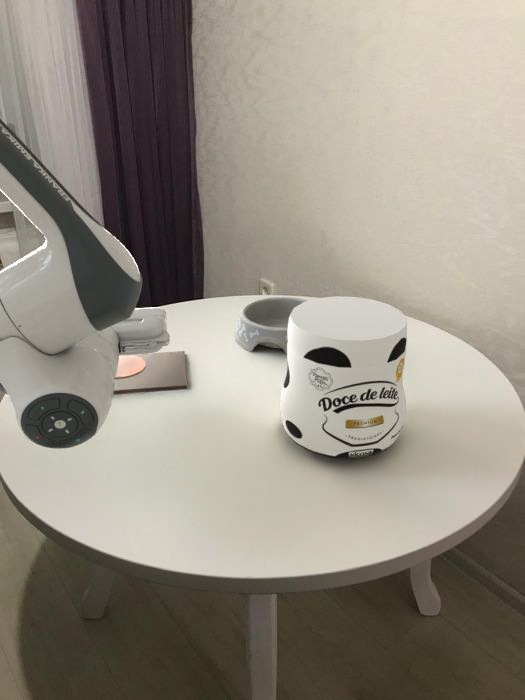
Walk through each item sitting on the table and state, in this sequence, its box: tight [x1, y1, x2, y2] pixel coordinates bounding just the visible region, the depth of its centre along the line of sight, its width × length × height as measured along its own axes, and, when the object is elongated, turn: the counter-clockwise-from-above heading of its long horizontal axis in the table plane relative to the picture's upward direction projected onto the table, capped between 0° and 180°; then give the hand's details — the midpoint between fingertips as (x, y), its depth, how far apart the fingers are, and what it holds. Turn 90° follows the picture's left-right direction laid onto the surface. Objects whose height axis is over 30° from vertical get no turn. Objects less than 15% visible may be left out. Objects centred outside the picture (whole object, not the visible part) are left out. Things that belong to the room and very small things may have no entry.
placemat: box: [113, 350, 188, 395], centre depth 100 cm, size 20×13×1 cm, turn 99°
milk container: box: [279, 295, 408, 460], centre depth 80 cm, size 17×17×18 cm
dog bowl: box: [234, 296, 309, 356], centre depth 113 cm, size 17×18×5 cm
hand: (93, 309), depth 82 cm, fingers closed on can, 6 cm apart
